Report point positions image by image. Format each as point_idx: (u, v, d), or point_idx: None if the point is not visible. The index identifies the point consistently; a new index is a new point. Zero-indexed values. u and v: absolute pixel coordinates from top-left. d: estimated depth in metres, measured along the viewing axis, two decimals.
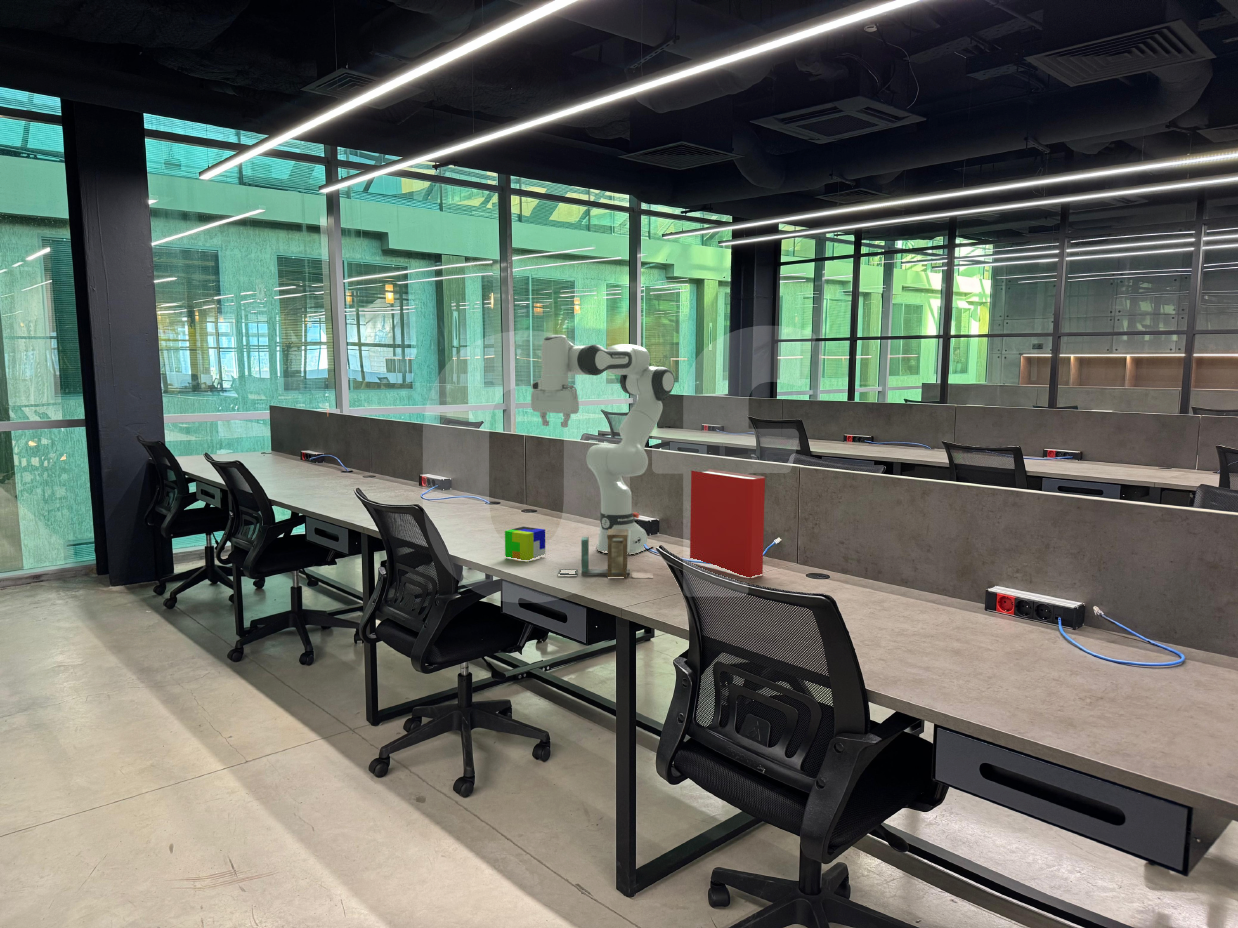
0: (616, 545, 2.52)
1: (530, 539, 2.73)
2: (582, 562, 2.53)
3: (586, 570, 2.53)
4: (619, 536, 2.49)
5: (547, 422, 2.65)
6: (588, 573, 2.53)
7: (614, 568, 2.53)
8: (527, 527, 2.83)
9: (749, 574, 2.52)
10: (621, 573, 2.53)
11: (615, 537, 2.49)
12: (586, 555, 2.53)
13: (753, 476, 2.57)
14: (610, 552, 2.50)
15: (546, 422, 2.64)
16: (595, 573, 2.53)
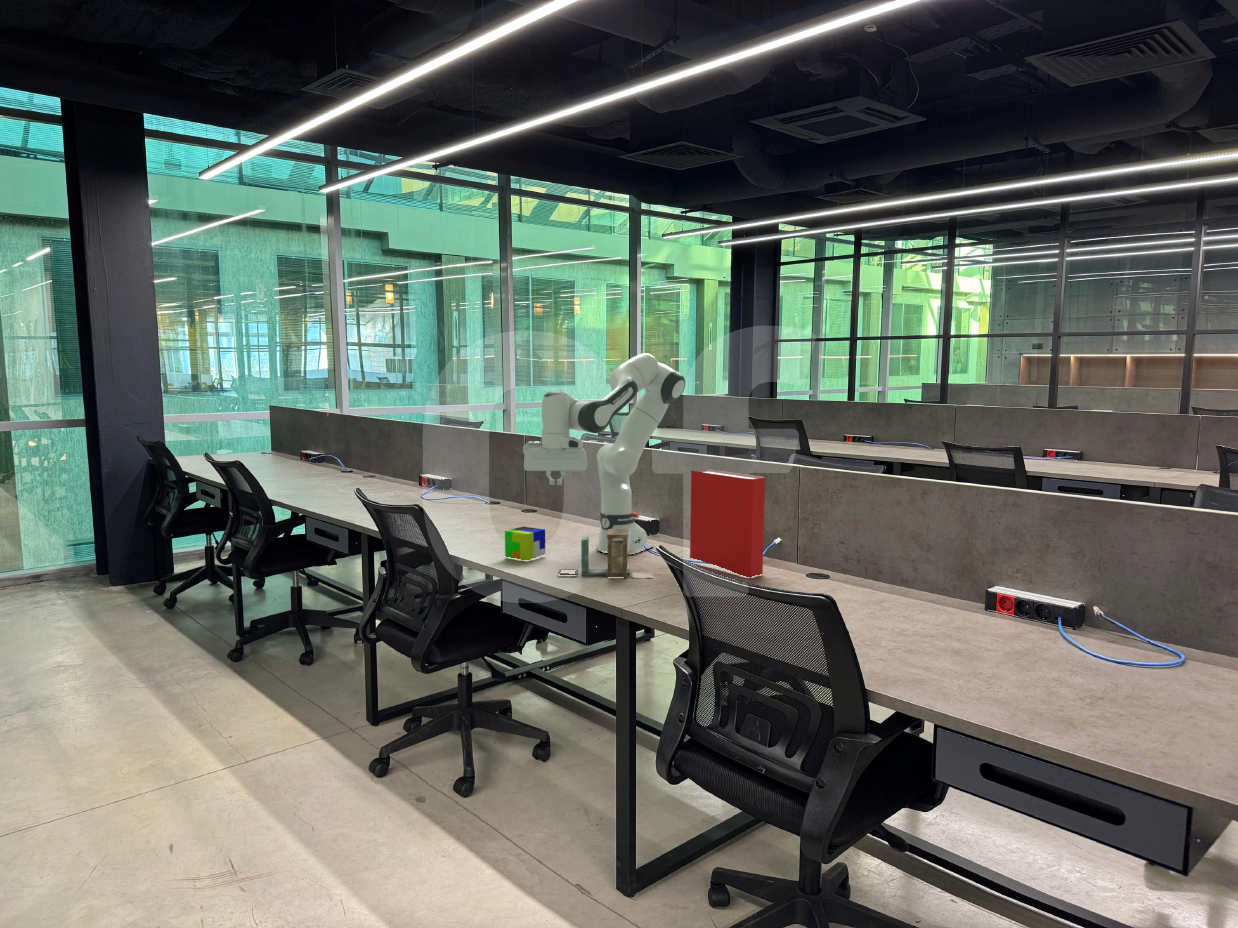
0: (616, 545, 2.52)
1: (530, 539, 2.73)
2: (582, 562, 2.53)
3: (586, 570, 2.53)
4: (619, 536, 2.49)
5: (557, 481, 2.53)
6: (588, 573, 2.53)
7: (614, 568, 2.53)
8: (527, 527, 2.83)
9: (749, 574, 2.52)
10: (621, 573, 2.53)
11: (615, 537, 2.49)
12: (586, 555, 2.53)
13: (753, 476, 2.57)
14: (610, 552, 2.50)
15: (557, 480, 2.54)
16: (595, 573, 2.53)
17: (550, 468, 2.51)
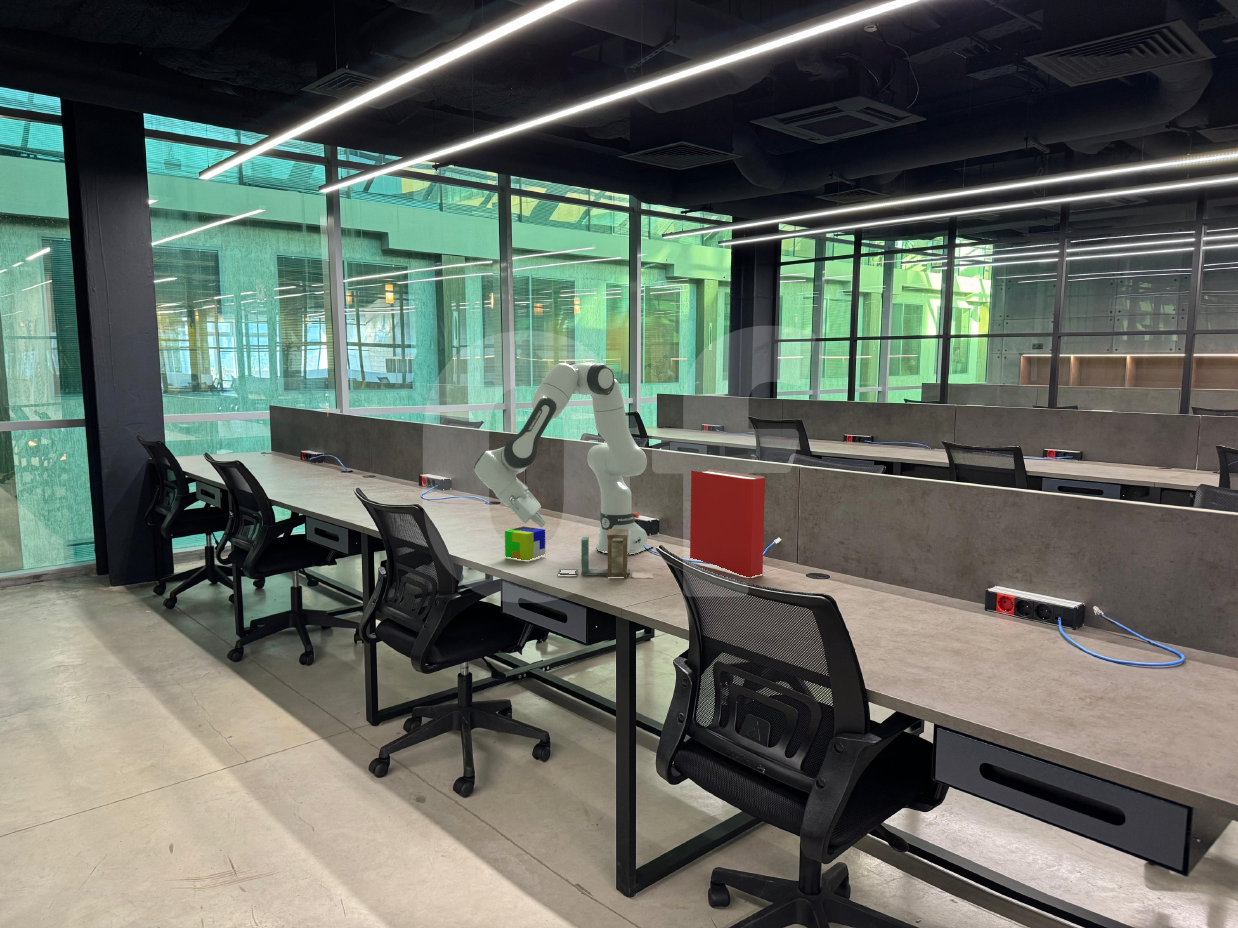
0: (616, 545, 2.52)
1: (530, 539, 2.73)
2: (582, 562, 2.53)
3: (586, 570, 2.53)
4: (619, 536, 2.49)
5: None
6: (588, 573, 2.53)
7: (614, 568, 2.53)
8: (527, 527, 2.83)
9: (749, 574, 2.52)
10: (621, 573, 2.53)
11: (615, 537, 2.49)
12: (586, 555, 2.53)
13: (753, 476, 2.57)
14: (610, 552, 2.50)
15: None
16: (595, 573, 2.53)
17: (535, 509, 2.52)
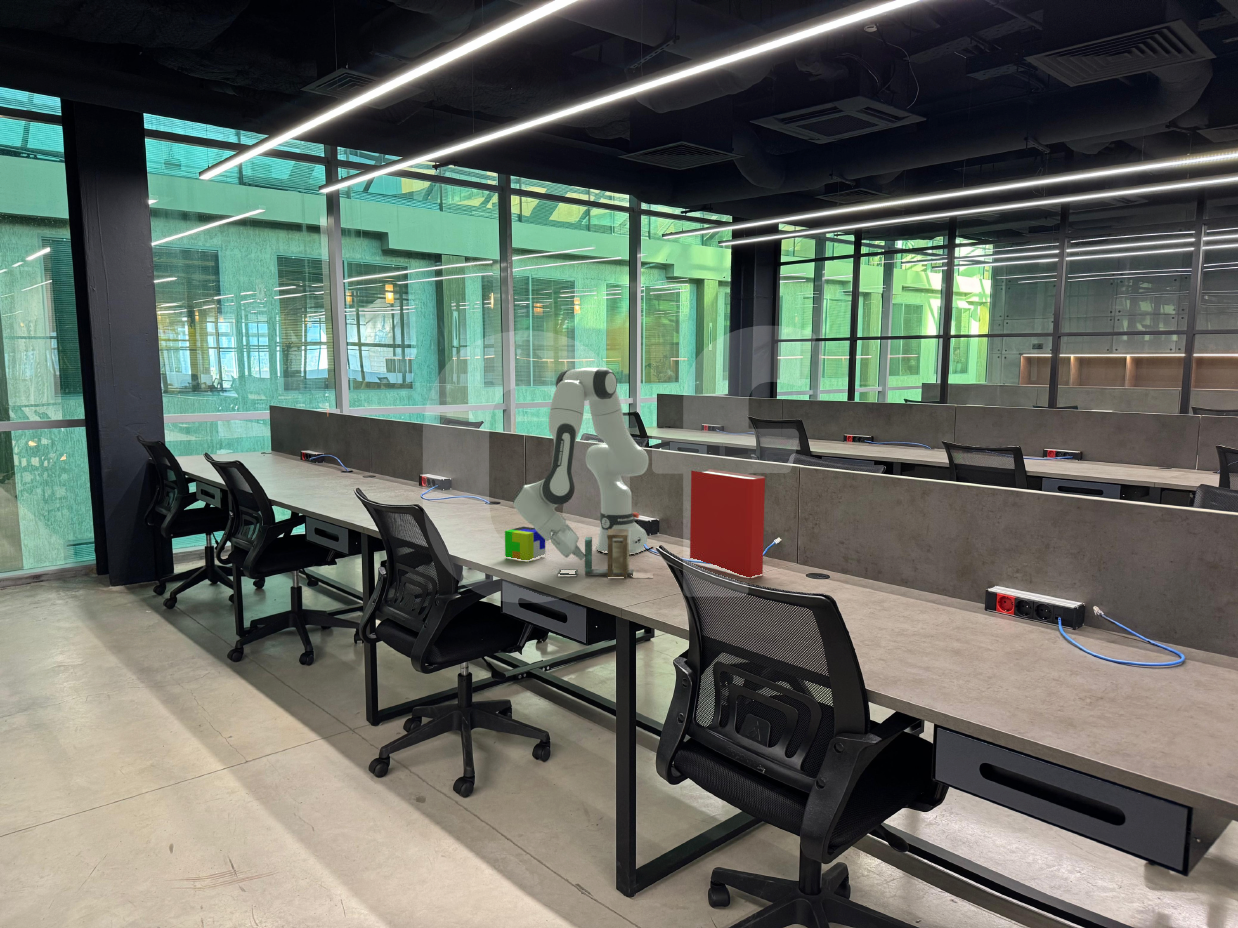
0: (620, 545, 2.52)
1: (530, 539, 2.73)
2: (586, 562, 2.53)
3: (590, 570, 2.53)
4: (619, 536, 2.49)
5: None
6: (592, 573, 2.53)
7: (618, 568, 2.53)
8: (527, 527, 2.83)
9: (749, 574, 2.52)
10: None
11: (615, 537, 2.49)
12: (589, 555, 2.53)
13: (753, 476, 2.57)
14: (610, 552, 2.50)
15: None
16: (599, 573, 2.53)
17: (574, 543, 2.53)
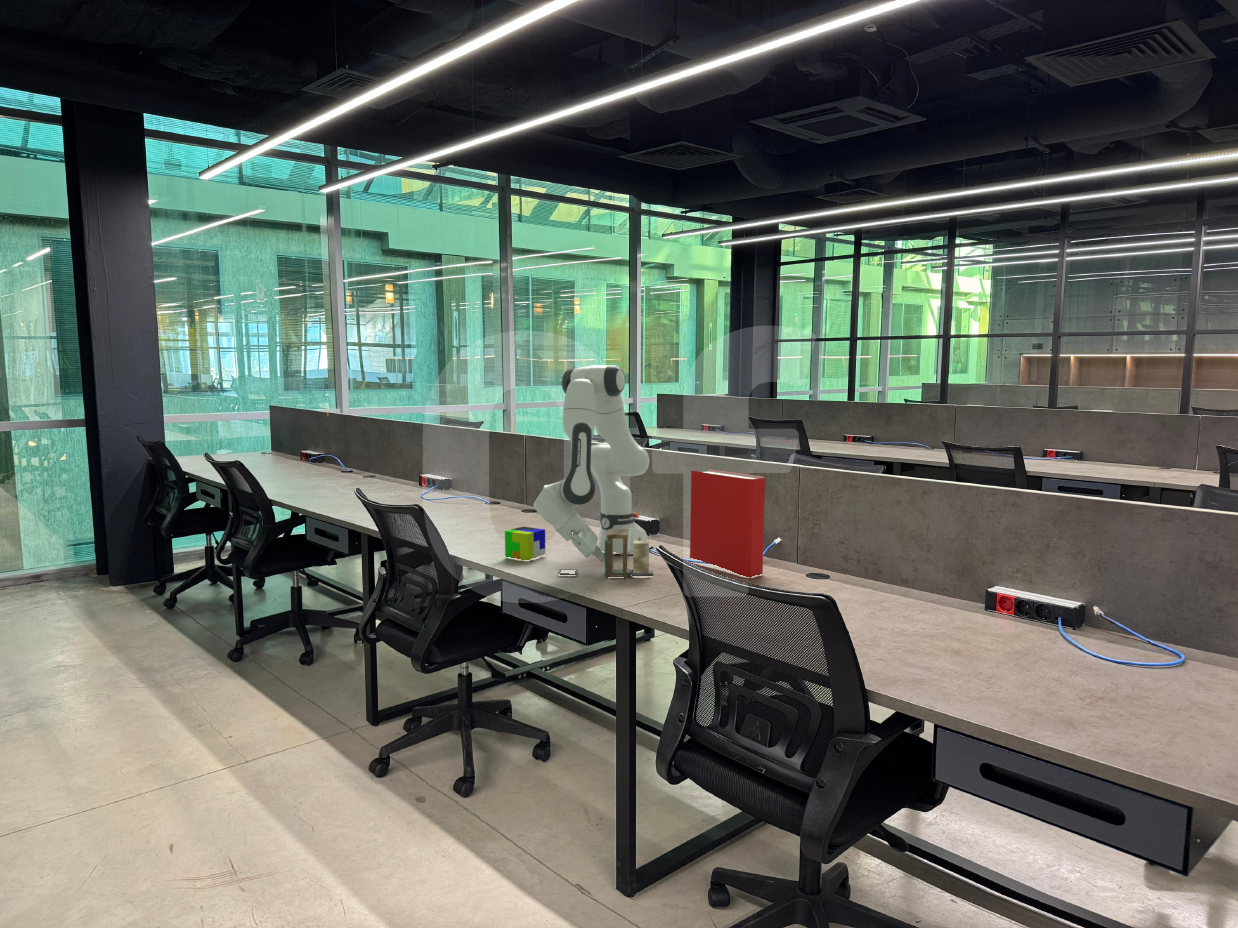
0: (640, 546, 2.52)
1: (530, 539, 2.73)
2: (606, 562, 2.53)
3: None
4: (619, 536, 2.49)
5: None
6: (612, 573, 2.53)
7: (638, 568, 2.53)
8: (527, 527, 2.83)
9: (749, 574, 2.52)
10: (645, 573, 2.53)
11: (615, 537, 2.49)
12: None
13: (753, 476, 2.57)
14: (610, 552, 2.50)
15: None
16: (619, 573, 2.53)
17: (594, 543, 2.53)
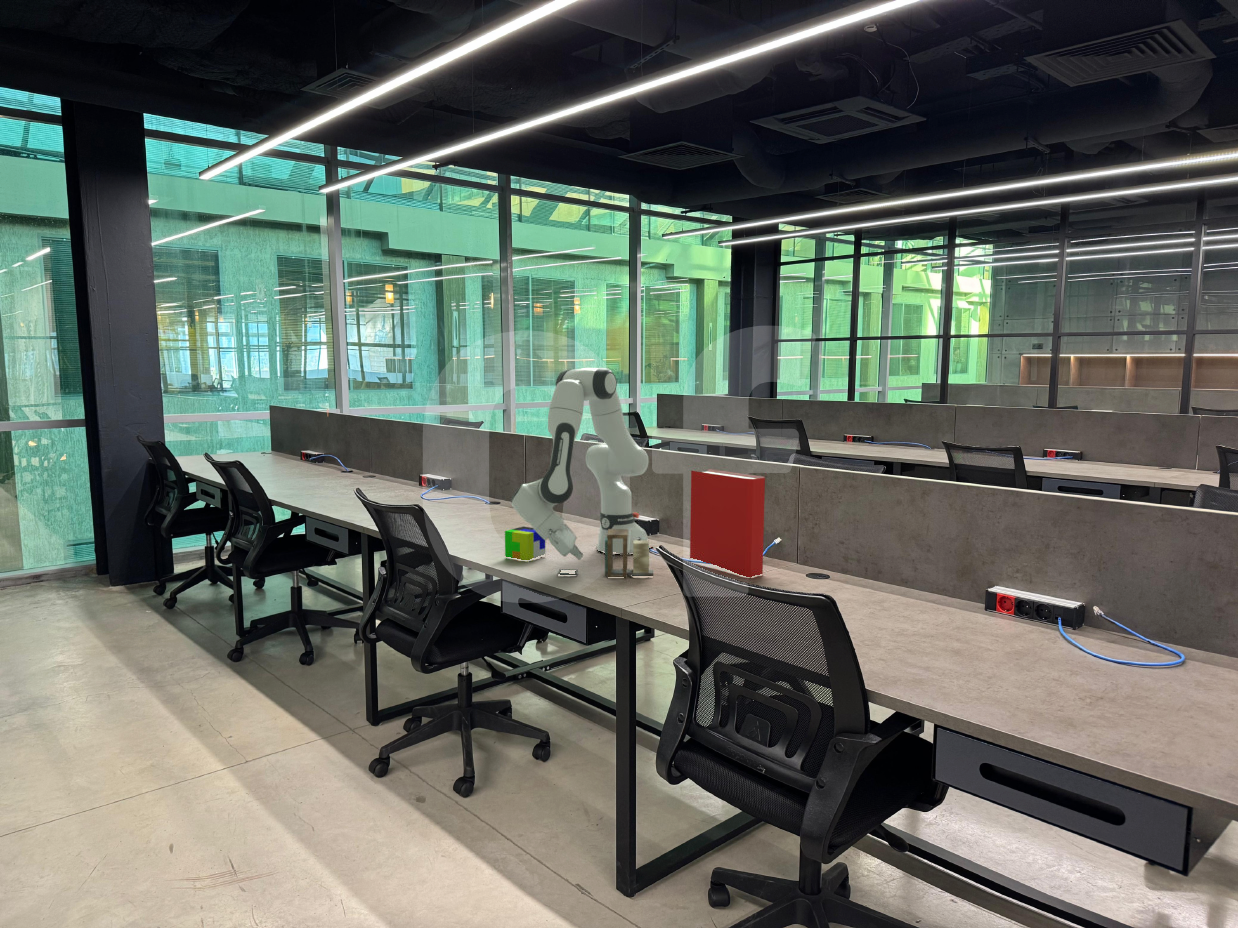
0: (640, 546, 2.52)
1: (530, 539, 2.73)
2: (606, 562, 2.53)
3: None
4: (619, 536, 2.49)
5: None
6: (612, 573, 2.53)
7: (638, 568, 2.53)
8: (527, 527, 2.83)
9: (749, 574, 2.52)
10: (645, 573, 2.53)
11: (615, 537, 2.49)
12: None
13: (753, 476, 2.57)
14: (610, 552, 2.50)
15: None
16: (619, 573, 2.53)
17: (572, 542, 2.53)
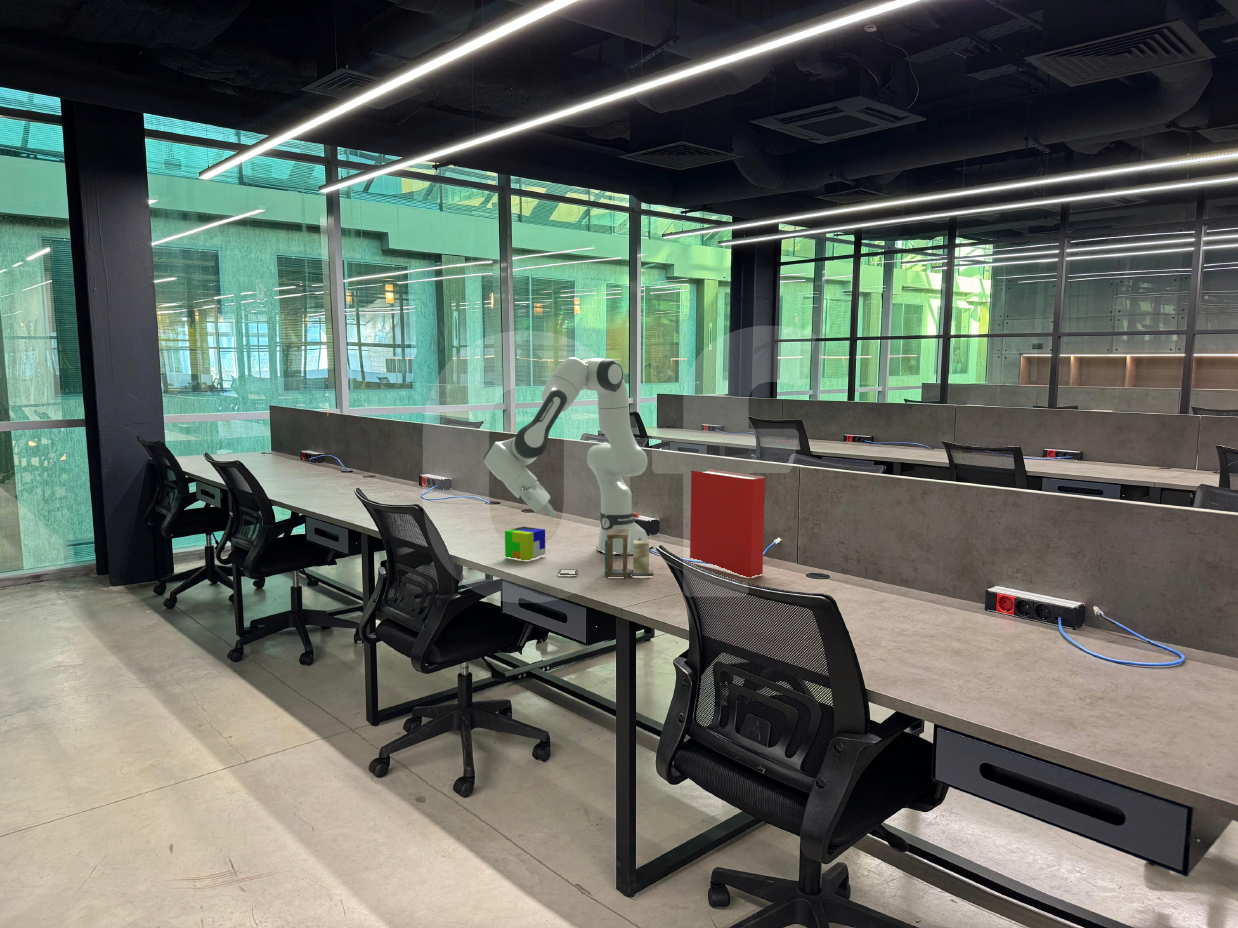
0: (640, 546, 2.52)
1: (530, 539, 2.73)
2: (606, 562, 2.53)
3: None
4: (619, 536, 2.49)
5: None
6: (612, 573, 2.53)
7: (638, 568, 2.53)
8: (527, 527, 2.83)
9: (749, 574, 2.52)
10: (645, 573, 2.53)
11: (615, 537, 2.49)
12: None
13: (753, 476, 2.57)
14: (610, 552, 2.50)
15: None
16: (619, 573, 2.53)
17: (545, 500, 2.52)
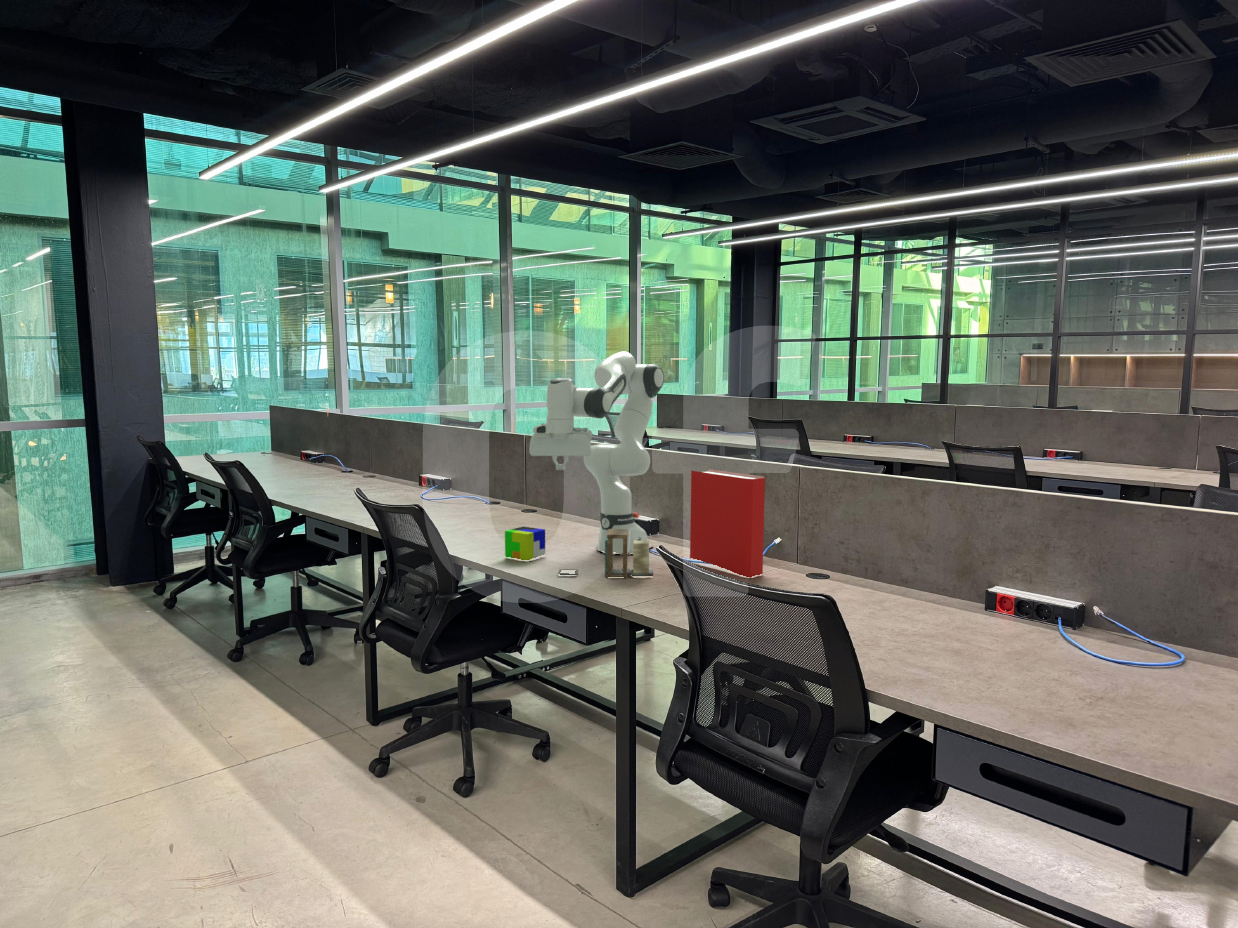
0: (640, 546, 2.52)
1: (530, 539, 2.73)
2: (606, 562, 2.53)
3: None
4: (619, 536, 2.49)
5: None
6: (612, 573, 2.53)
7: (638, 568, 2.53)
8: (527, 527, 2.83)
9: (749, 574, 2.52)
10: (645, 573, 2.53)
11: (615, 537, 2.49)
12: None
13: (753, 476, 2.57)
14: (610, 552, 2.50)
15: None
16: (619, 573, 2.53)
17: None
